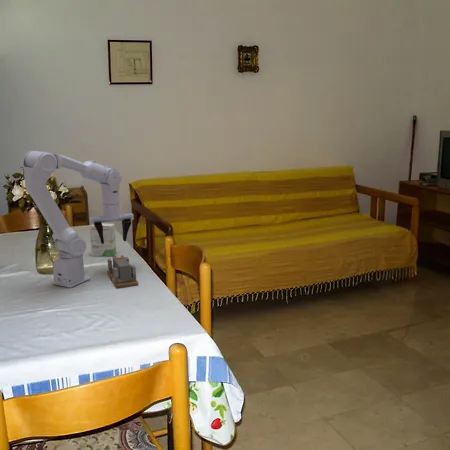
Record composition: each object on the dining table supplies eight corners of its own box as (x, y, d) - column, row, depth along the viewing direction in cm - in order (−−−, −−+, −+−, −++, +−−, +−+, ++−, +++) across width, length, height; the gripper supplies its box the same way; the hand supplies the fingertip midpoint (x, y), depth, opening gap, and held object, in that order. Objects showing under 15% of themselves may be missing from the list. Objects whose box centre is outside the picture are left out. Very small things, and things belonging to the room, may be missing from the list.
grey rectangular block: (131, 278, 171) (130, 264, 170) (120, 280, 170) (119, 265, 169) (123, 267, 182) (122, 254, 181) (113, 269, 181) (112, 255, 179)
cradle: (138, 285, 171) (137, 268, 169) (116, 288, 168) (115, 271, 167) (127, 270, 185) (126, 255, 184) (107, 273, 183) (106, 258, 181)
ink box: (91, 256, 203) (88, 225, 200) (95, 252, 208) (93, 222, 205) (113, 256, 202) (111, 226, 199) (117, 252, 207) (115, 222, 204)
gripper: (129, 199, 188) (131, 236, 191) (87, 203, 182) (90, 241, 186) (134, 203, 181) (136, 241, 185) (90, 206, 176) (93, 246, 179)
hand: (113, 241), depth 185 cm, fingers open, 7 cm apart
